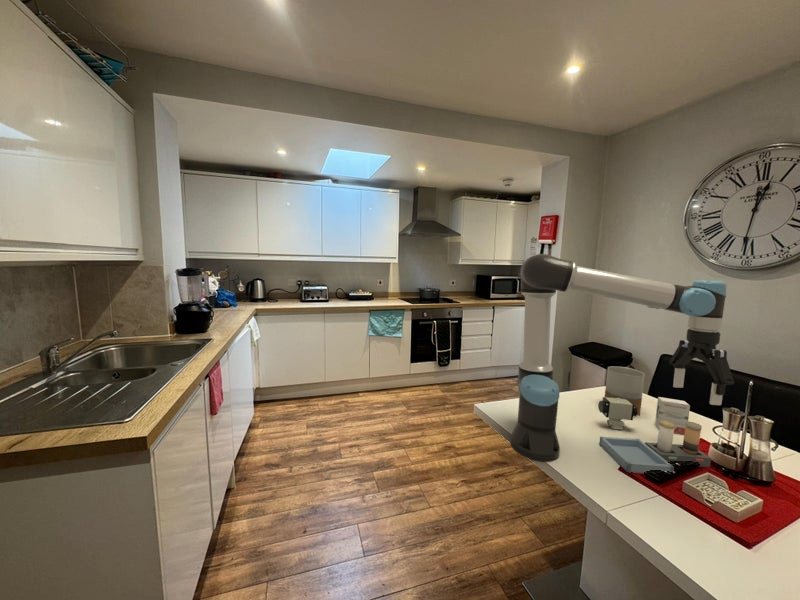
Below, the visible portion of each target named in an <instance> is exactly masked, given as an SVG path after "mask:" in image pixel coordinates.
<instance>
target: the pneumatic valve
mask: <svg viewBox="0 0 800 600" xmlns="http://www.w3.org/2000/svg"><path fill="white" fill-rule="evenodd" d="M597 404H598V411H599V412H600V413H602V414H603V416H605V418H608V419H607V420H606V425H607V426H608V427H610V429H612V430H617V431H622V430H624V429H625V425H626V424H625V422H624V421H623V420H626V421H634V417H637V416H638V415H637V413H638V410H637V407H636V405H634V404H633V403H632V402H630V401H629V400H626V399H620V398H607V397H605V396H603V397H602V399H601V400H599V401H598V403H597Z"/></svg>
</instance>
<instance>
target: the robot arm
mask: <svg viewBox="0 0 800 600" xmlns="http://www.w3.org/2000/svg"><path fill="white" fill-rule="evenodd" d="M519 272H520V294H521V295H523V297H524V319H523V321H524V322H523V324H524V325H523V326H524V327H523V359H522V361H521V362H520V363H519V364H518V376H517V388H518V397H519V399H518V413H517V422H516V424H515V426H514V428H513V430H512V433H511V435H510V441H509V442H510V447H511V448H512V449H513V450H514V451H515V452H516V453H517V454H519V455H521V456H523V457H524V458H527V459H530V460H533V461H537V462H552V461H555V460H557V459H559V457H560V452H561V451H560V450H561V449H560V444H559V443H560V442H559V439H558V435H557V432H556V427H557V426H556V425H557V416H558V409H559V408H558V406H559V400H560V399H559V398H560V388H559V387H560V386H559V384H558V383H557V382H556V381H555V380H554V368H553V366H552V365H551V364H550V334H551V332H550V331H551V311H552V310H551V308H552V305H551V303H552V298H553V296H555V295H556V294H557V291H559V292H564V293H566V292H568V291H574V292H578V293H579V292H580V293H585V294H589V295H593V296H599V297H603V298H608V299H613V300H619V301H623V302H628V303H632V304H638V305H642V306H646V307H647V308H649V309H656V310H658V309H659V310H666V311H670V312H674V313H680V314H684V315H686V316H688V319H687V327H688V329H687V330H686V338H685V339H686V340H685V339H683V340H682V339H680V340H679V344H678V346H677V348H676V349H675V350H674V353H673V355H672V356H671V358H670V359H669V361H668V362H669V363H668V364H669V365H672V366H673V384H672V387H673V388H677V389H678V388H680V389H681V388H684V385H685V384H684V383H685V374H686V365H688V364H689V363H690V362H691V361H692V360H693V359H698V360H699V361H701V362H702V363H704V364H705V366H706V367H707V369H708V371H709V374H710V375H711V377H712V379H713V381H714V382H711V388H710V396H709V397H710V398H709V405H712V406H722V403H723V396H725V393H726V386H728V385H731V386H733V385H735V380H734V378H733V374H732V371H731V368H730V364H729V362H728V358H727V357H728V356H727V355H728V352H727V350H726V349H717V345H719V344H720V340H721V333H720V331H721V330H722V325H723V316H724V309H725V302H726V297H727V283H725V281H722V280H704V279H703V280H700V279H699V280H698V279H697V280H694V281H693V282H692V285H687V286H685V285H679V284H674V283H668V282H664V281H659V280H654V279H650V278H649V279H648V278H643V277H637V276H633V275H632V276H631V275H628V274H627V275H626V274H622V273H616V272H610V271H605V270H600V269H595V268H590V267H586V266H585V267H584V266H581V265H579V266H578V265H577V264H576V263H575V262H574V261H571V260H566V259H562V258H558V257H555V256H552V255H550V254H545V253H539V254H538V253H537V254H535V255H532V256H530V257H528V258H527V259H526V260H525V261H524V262H522V265H521V267H520V271H519Z"/></svg>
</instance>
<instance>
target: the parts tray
mask: <svg viewBox="0 0 800 600" xmlns="http://www.w3.org/2000/svg"><path fill="white" fill-rule="evenodd" d="M598 444H599V446H600V447H602V448H603V450H604V451H605V452H606V453H607V454H609V456H610V457H611V458H613V459H614V461H615V462H616V463H617V464H618V465H620V467H621V468H622V469H624V471H626V473H631V472H633V473H634V474H644V472H646V471H650V470H661V471H669V472H673V473H674V470H675V466H673V464H670V463H668V462H667V461H666V460H665V459H663V458H662V457H661V456H660V455H658V454H657V453H656V452H655V451H653V450H652V449H651V448H650V447H648V446H647V445H646V444H645V442H644V441H642V440H641V439H640V438H639V439H638V438H624V437H614V436H613V437H610V436H599V441H598ZM633 473H632V474H633Z"/></svg>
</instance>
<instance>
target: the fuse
mask: <svg viewBox="0 0 800 600" xmlns="http://www.w3.org/2000/svg"><path fill="white" fill-rule="evenodd" d="M659 424H660V426H659V430H658V435H657V440H656V441H657V442H656V443H657V449H658V450H660V451H661V452H664V453H671V448H672V444H673V441H674V440H673V439H674V434H675V433H674V428H675V424H674V423H673V422H670V421H667V420H660V423H659Z"/></svg>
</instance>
